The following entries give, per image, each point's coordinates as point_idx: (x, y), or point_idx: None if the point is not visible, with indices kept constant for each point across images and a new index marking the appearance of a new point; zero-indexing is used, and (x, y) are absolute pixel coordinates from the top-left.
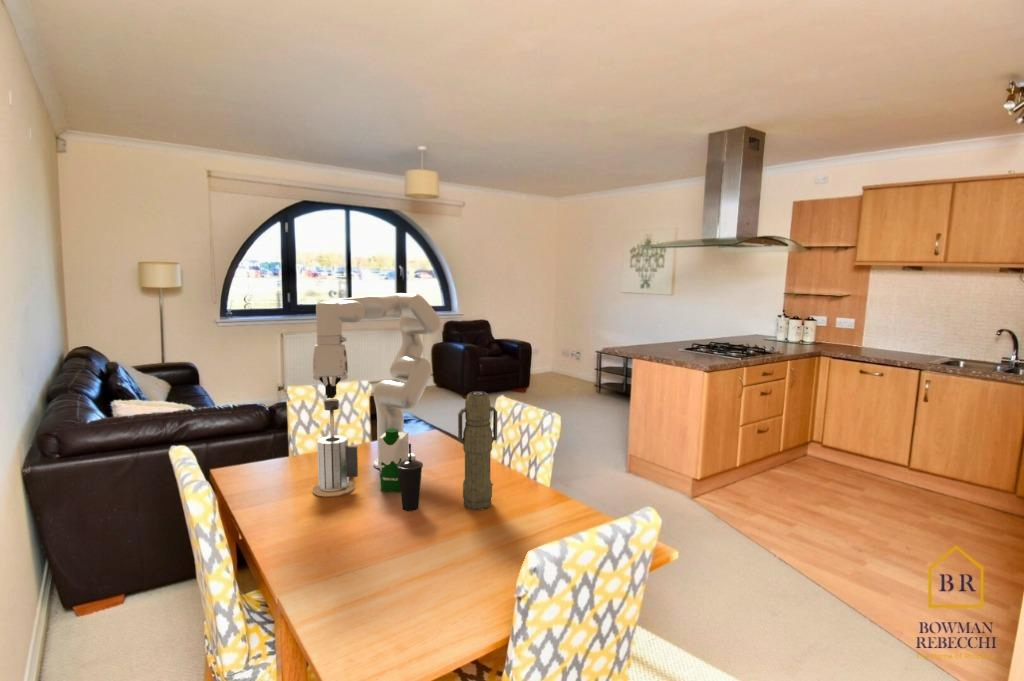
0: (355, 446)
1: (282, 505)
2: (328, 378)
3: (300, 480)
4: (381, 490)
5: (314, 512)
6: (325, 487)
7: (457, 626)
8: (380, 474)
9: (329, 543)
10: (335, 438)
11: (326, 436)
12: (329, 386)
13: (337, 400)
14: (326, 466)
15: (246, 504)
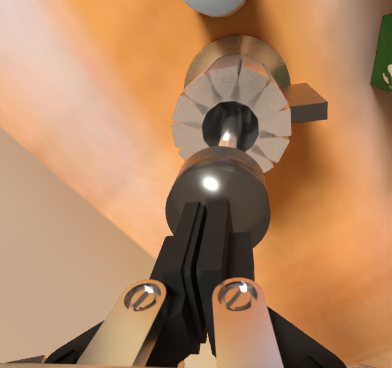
0: (322, 110)
1: (166, 187)
2: (137, 363)
3: (118, 46)
4: (371, 84)
5: None
6: None
7: None
8: (385, 82)
9: (319, 300)
10: (229, 100)
11: (184, 91)
12: (203, 335)
13: (258, 202)
14: None
15: (97, 190)
